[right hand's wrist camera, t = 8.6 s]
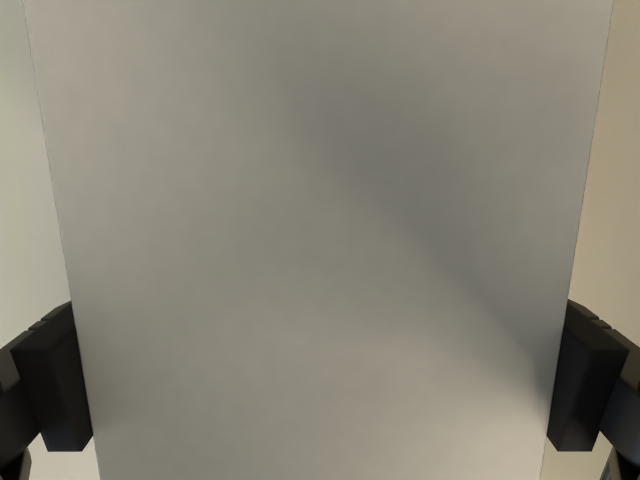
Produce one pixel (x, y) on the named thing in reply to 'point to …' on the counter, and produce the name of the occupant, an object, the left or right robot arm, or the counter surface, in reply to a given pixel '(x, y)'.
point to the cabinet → (319, 228)
